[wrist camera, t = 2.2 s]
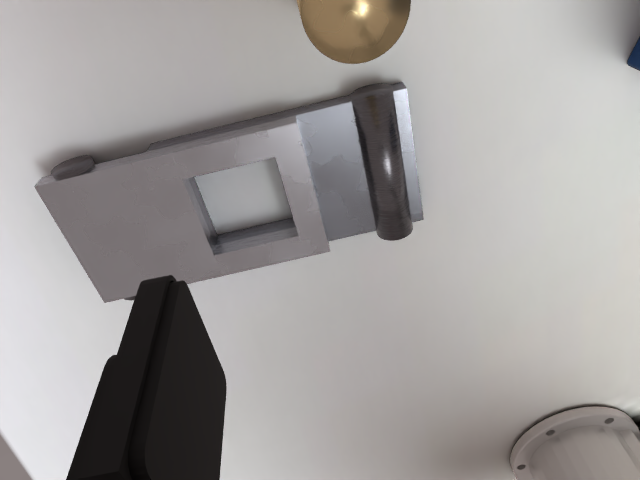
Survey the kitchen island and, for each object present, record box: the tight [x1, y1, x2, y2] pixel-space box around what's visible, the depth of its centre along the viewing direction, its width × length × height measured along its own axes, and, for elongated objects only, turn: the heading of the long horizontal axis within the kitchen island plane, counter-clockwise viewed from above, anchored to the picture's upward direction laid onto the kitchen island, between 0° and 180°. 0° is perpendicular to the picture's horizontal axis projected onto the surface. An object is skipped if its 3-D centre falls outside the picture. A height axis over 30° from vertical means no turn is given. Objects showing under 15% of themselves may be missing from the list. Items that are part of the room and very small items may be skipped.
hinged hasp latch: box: [35, 82, 423, 303], centre depth 32 cm, size 22×10×2 cm, turn 102°
